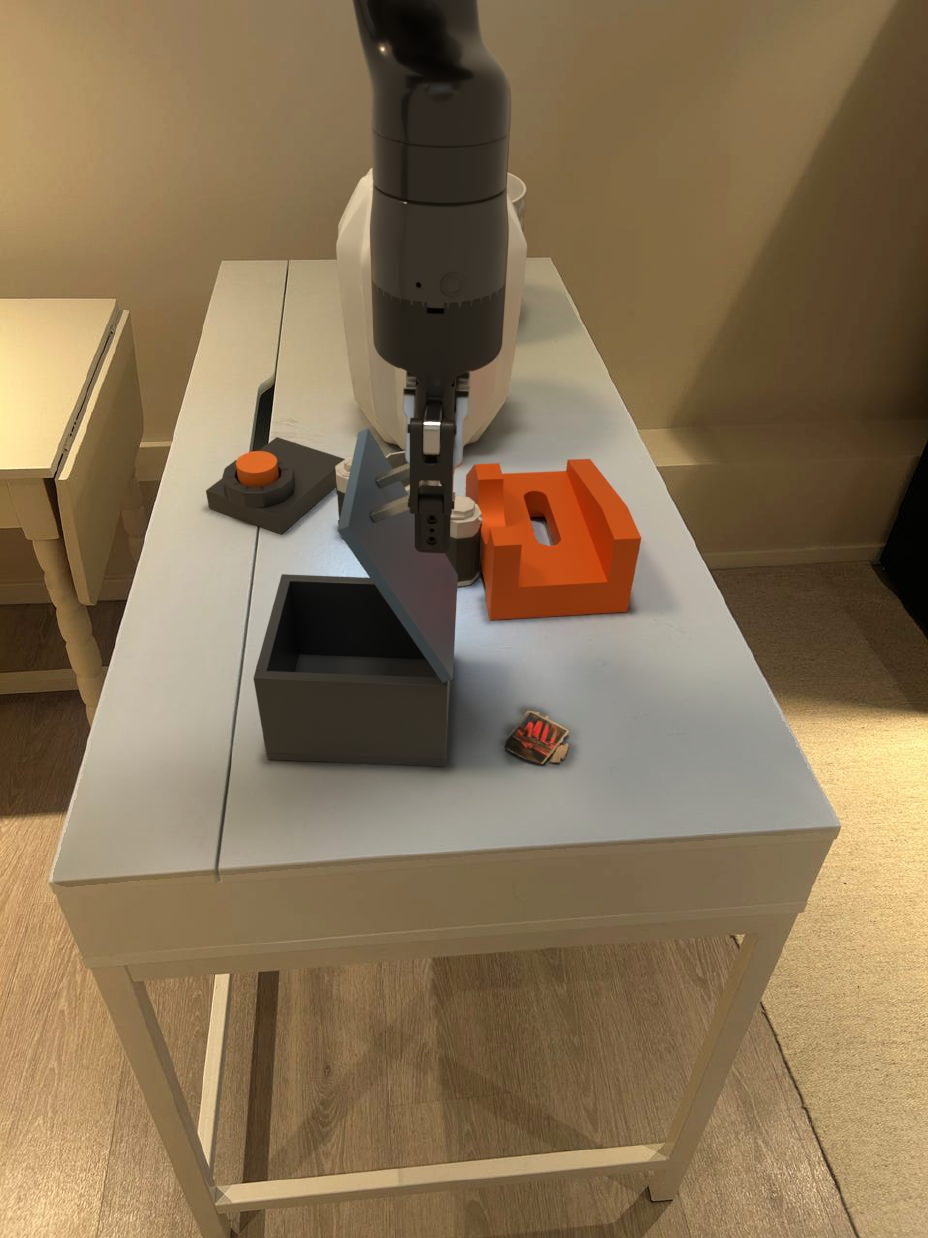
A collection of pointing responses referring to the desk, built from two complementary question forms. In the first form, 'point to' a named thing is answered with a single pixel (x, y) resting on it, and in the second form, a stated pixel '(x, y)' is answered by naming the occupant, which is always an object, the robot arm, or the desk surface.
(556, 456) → the desk surface
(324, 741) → the open box
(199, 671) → the desk surface
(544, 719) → the matchbox
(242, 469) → the button
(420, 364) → the robot arm
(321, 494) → the control block
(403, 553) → the lid
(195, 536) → the desk surface
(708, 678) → the desk surface
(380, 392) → the vase
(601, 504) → the orange slotted stand
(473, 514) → the camera
